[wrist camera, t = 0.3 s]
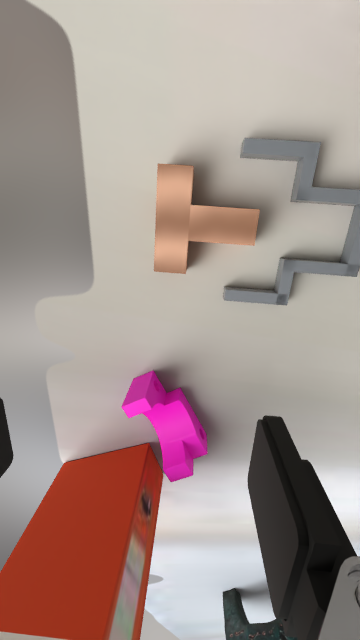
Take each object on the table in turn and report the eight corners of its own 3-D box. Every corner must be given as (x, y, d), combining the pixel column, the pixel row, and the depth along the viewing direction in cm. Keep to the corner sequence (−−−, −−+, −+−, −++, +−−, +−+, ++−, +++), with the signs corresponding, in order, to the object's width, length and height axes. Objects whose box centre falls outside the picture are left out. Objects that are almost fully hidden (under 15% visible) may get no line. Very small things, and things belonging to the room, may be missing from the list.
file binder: (63, 460, 50) (-142, 816, 20) (147, 440, 47) (59, 819, 17) (82, 491, 52) (-77, 851, 22) (163, 473, 49) (110, 859, 19)
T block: (162, 171, 33) (157, 163, 29) (257, 177, 33) (265, 170, 29) (158, 267, 37) (154, 271, 33) (243, 273, 37) (249, 278, 33)
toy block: (206, 433, 46) (208, 470, 39) (174, 444, 47) (171, 482, 40) (167, 364, 42) (161, 391, 35) (133, 378, 43) (121, 407, 36)
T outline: (241, 143, 32) (244, 137, 30) (382, 151, 31) (394, 146, 29) (222, 296, 38) (224, 300, 36) (339, 306, 37) (347, 310, 35)
